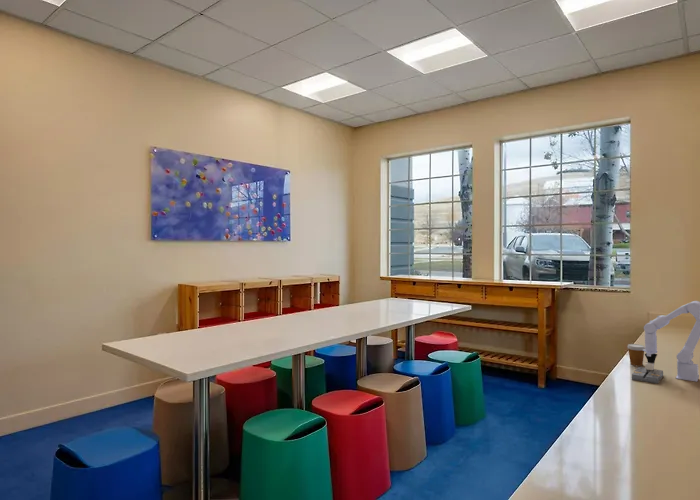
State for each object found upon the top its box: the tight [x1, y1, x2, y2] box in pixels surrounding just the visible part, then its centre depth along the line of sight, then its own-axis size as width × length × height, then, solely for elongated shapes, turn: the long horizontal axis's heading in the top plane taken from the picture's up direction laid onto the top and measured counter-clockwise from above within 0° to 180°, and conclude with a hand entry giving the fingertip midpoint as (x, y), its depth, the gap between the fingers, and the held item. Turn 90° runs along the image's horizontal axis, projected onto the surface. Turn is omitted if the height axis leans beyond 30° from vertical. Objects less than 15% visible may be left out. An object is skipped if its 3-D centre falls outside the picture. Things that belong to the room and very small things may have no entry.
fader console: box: [631, 366, 664, 385], centre depth 244 cm, size 12×19×3 cm, turn 137°
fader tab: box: [644, 361, 655, 372], centre depth 249 cm, size 4×3×5 cm
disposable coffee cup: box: [627, 343, 645, 367], centre depth 271 cm, size 10×10×12 cm
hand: (651, 366), depth 253 cm, fingers closed
